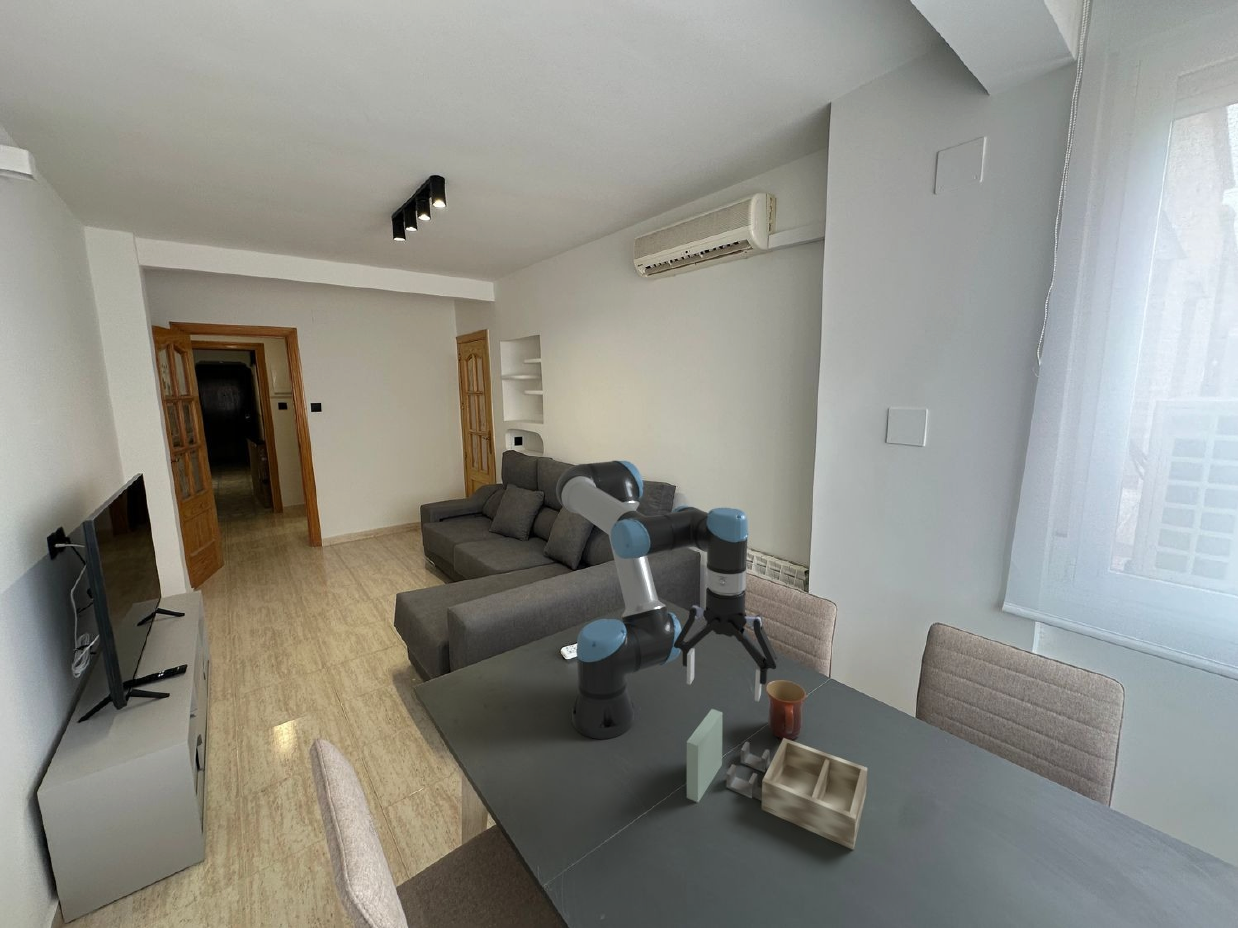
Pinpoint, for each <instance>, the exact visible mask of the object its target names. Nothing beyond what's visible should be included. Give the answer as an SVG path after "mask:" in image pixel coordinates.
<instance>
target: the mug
mask: <svg viewBox="0 0 1238 928" xmlns="http://www.w3.org/2000/svg"><path fill="white" fill-rule="evenodd" d="M765 686H766V687H765V691H766V695H767V698H768V711H767V712H768V714H767V723H768V729H769V731H770V732H771V734H773V735H774V736H775V737H777V739H780V740H783V738H785V739H788V740H791V741H793V740H795V739H798V737H800V735H801V732H802V727H803V705H804V702H805V699H806V697H807V692H806V690H805V689H804V687H802V686H801V685H800V684H798V683H795V682H793V681H790V680H784V679H778V680H773V681H770V682H768V683H766V685H765Z"/></svg>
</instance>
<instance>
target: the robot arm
mask: <svg viewBox="0 0 1238 928" xmlns="http://www.w3.org/2000/svg"><path fill="white" fill-rule="evenodd" d="M643 488H644V481H643V478H642V475H641V473H640V471H639V469H638V468H637V466H636V465H634V463H631V461H627V460H612V461H603V462H593V463H589V462H588V463H579V464H576V465H573V466H571V467H569V468H567V469H566V470H565V471H564V472H563V473H562V474H561V475H560V477H559V478H558V481H557V483H556V488H555V493H556V498H557V500H558V502H559V503H560V505H561V506H562V507H563V508H564V509H565V510H567V511H568V512H570V513H572V514H578V515H581V516H582V517H583V518H585V519H587V520H588V521H589V522H591V524H593V525H595V526H596V527H597V528H599V529H600V531H603V532H604V533H605V534H607V535H608V537H609V543H610V547H611V551H612V556H613V559H614V564H615V568H616V571H617V572H616V573H617V576H618V581H619V586H620V589H621V592H622V593H621V594H622V598H623V601H624V606H625V607H624V608H625V609H624V612H623V613H622V615H621V619H622V621H621V620H619V619H617V618H616V619H615V618H609V619H607V618H601V619H597V620H594V621H591V622H589V623H587V624H586V625H585V626H583V627H582V628H581V630H580V632H579V633H578V635H577V640H576V641H577V643H576V649H575V652H576V656H577V657H576V659H577V661H576V662H577V682H578V683H577V684H578V691H577V693H576V696H575V699H574V704H573V706H572V709H571V721H572V725H573V727H574V729H575V730H576V731H577V732H578V733H579V734H581V735H583V736H585V737H588V738H592V739H598V740H600V739H601V740H602V739H603V740H605V739H611V738H616V737H619V736H620V735H623V734H625V733H626V732H628V731H629V730H630V729H631V727H632V726H633V724H634V722H635V707H634V704H633V702H632V699H631V697H630V694H629V693H630V692H629V690H628V688H627V676H628V675H631V674H634V673H638V672H641V671H644V670H648V669H650V668H655V667H657V666H663V665H665V664H666V663H669V662H672V661H674V660H675V659H677V658H678V656H679V655H680V653H681V652H682V667H686V684H687V685H691V684H692V682H693V681H694V679H695V649H696V648H694V647H695V646H697V644H698V643H699V642H700V641H702V640H703V639H704V638H705V637H706V636H707V635H709V634H710V632H714V633H715V635H724V636H726V637H729V638H732V637H733V636H734V637H735V638H736V640H737V641H738V642H740V644H742V646H743V647H744V648H745V649H744V650H746V651H747V653H748V654H749V655H750V657H751V658H752V659H753V660H754V662H755V663H756V665H757V666H756V667H755V668H756V669H755V678H754V679H755V683H754V685H755V686H754V701H755V702H759V701H760V699H761V695H762V685H765V686H766V685H767V682H768V681H767V680H768V674H769V673H768V670H769V669H772V670H776V669H777V665H778V663H779V659H778V657H777V655H776V653H775V651H774V648H773V645H772V643H771V642H770V639H769V637H768V635H767V633H766V631H765V629H764V627H763V619H762V616H761V614H756V615H755V616H748V615H747V613H746V597H747V596H746V590H745V589H746V588H747V555H748V537H749V531H748V528H749V527H748V516H747V514H746V513H745V511H743V510H741V509H737V508H732V507H716V508H715V507H714V508H712V509H710V510H709V511H708V512H706V511H703V510H701V509H700V508H698V507H694V506H688V505H680V506H677V507H676V508H674V509H673V510H672V511H671V512H669V513H661V514H656V515H655V514H654V515H649V516H648V515H645V514H643V513H641V512H639V511H638V510H637V509H638V507H640V502H639V501H640V500H641V498H642V497H643V494H644V489H643ZM687 548H695V549H698V550H700V551H702V552H704V553H706V577H705V578H706V582H705V584H706V589H705V608H703V607H700V606H699V604H697V603H694V604H693V605H692V607H691V608H690V609H689V613H688V619H687V621H686V623H685V624H684V626H683V628H682V627H681V623H680V621H679V619H677V616H676V615H675V614H674V613H673V612H670V611H668V610H667V605H666V604H664V602H661V601H660V600H659V597H658V594H657V590H656V586H655V583H654V578H653V575H652V570H651V566H650V563H649V559H648V556H651V555H657V554H661V553H667V552H673V551H678V550H682V549H687ZM701 616H703V618H704V619H705V621H706V622H707V623H706V624H705V625H703V626H702V627H701V628H700V629H699V630H697V632H696V633H695V634H694V635H693V636H692V637H691V638H689V639H688V640H687V641H685V638H686V637H687V635H688V634H689V632H690V630H691V628H692V627H693V625H694V623H695V621H696V620H697V619H700V618H701ZM747 624H748V625H749V627H750V628H751V630H753V632H754V635H755V638H756V640H757V642H758V644H759V646H760V647H759V646H758V645H757V644H756V642H755V641H754V640H753V638H752V637H751V636H750V634H749V633H748V630H747V628H746V625H747ZM760 648H761V649H760Z"/></svg>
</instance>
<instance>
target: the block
mask: <svg viewBox="0 0 1238 928" xmlns="http://www.w3.org/2000/svg"><path fill="white" fill-rule="evenodd" d="M722 765H723V712H722V711H720V710H717V709H714V708H711V709H710V711H709V712H708V713H707V715H706V716H705V717H704V718H703V719H702V721H701V722H700V723H699V725H698V726H697V727H696V729H695V730H694V731H693V733H692V734H691V736H690V737H689V738H688V739H687V740H686V798H687V799H689V800H691V801H694V803H695V802H696V803H699V802H700V801H701V799H702V797H703V796H704V795H705V792H706V791H707V789H709V788H708V787H710V784H711V783H712V781H713V779H714V778H715V777H716V775H717V774H718V771H719V770H720V768H721V767H722Z"/></svg>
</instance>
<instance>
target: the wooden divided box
mask: <svg viewBox="0 0 1238 928" xmlns="http://www.w3.org/2000/svg"><path fill="white" fill-rule="evenodd" d="M770 751H771V750H770V749H765V750H764V752H763V754H762V756H761V757H759V756H757V755H754V754H752V753H750V742H748V741H745V742H744V743H743V745H742V748H741V749H740V764H743V765H745V766H748V767H750V768H751V769H754V770H758V771H760V772H763V773H765V775H764V777H763V778H762V782H761V785H762V786H761V787H758V773H755V772H753V773H752V775H751V777H750V779H749V780H745V779H742V778H740V777H737V765H735V764H731V766H730V767H729V769H728V770H727V773H726V789H727V788H728V789H729V790H732V791H734V792H736V793H738V794H739V795H740V794H741V795H743V796H745V797H747V798H750V799H753V798H755V799H757V800H759V801H761V810H762V811H765V812H767V813H768V814H769V813H770V814H772V815H774V816H776V817H778V818H780V819H782V820H785V821H787V822H790V823H792V824H794V825H796V826H798V827H801V828H803V829H805V830H807V831H809V832H811V833H814V834H817V835H818V836H821V837H823V838H826V839H827V840H830V841H832V842H835V843H837V844H839V845H841V846H843V847H846V848H848V849H850V850H853V851H854V849H855V846H856V845H855V844H856V841H857V838H858V837H857V836H858V832H859V828H860V823H861V819H862V814H863V811H864V806H865V801H866V796H867V782H868V781H867V780H868V767H866V766H863V765H860V764H858V763H855V762H852V761H849V760H846V759H844V758H841V757H839V756H835V755H832V754H830V753H826V752H825V751H821V750H818V749H816V748H814V747H810V746H807V745H804V744H802V743H799V742H796V741H793V740H788V739H785V738H783V739H781V742H780V744H779V746H778V749H777V750H776V753H775V754H774V756H773V758H772V760H771V761H770V757H771V756H770V753H771V752H770Z"/></svg>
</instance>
